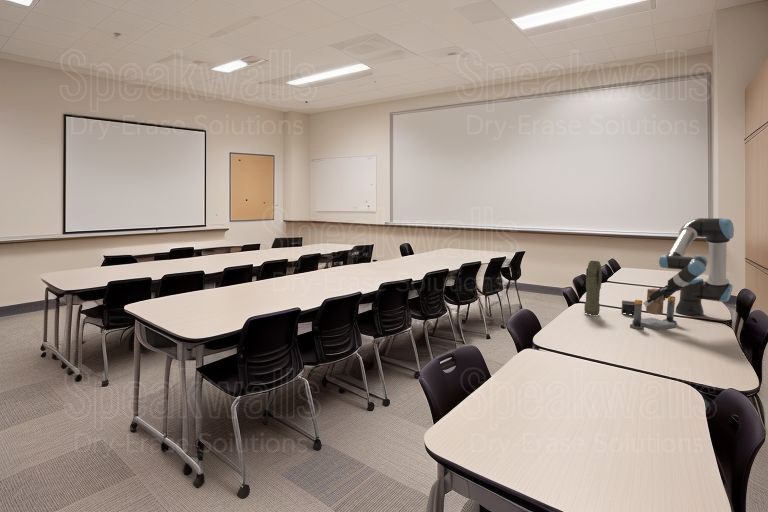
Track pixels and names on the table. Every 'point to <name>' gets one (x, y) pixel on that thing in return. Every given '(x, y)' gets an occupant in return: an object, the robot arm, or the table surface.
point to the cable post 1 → (637, 315)
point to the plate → (656, 323)
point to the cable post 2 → (670, 310)
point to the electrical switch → (628, 307)
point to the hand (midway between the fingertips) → (649, 304)
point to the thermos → (593, 287)
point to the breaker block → (655, 303)
